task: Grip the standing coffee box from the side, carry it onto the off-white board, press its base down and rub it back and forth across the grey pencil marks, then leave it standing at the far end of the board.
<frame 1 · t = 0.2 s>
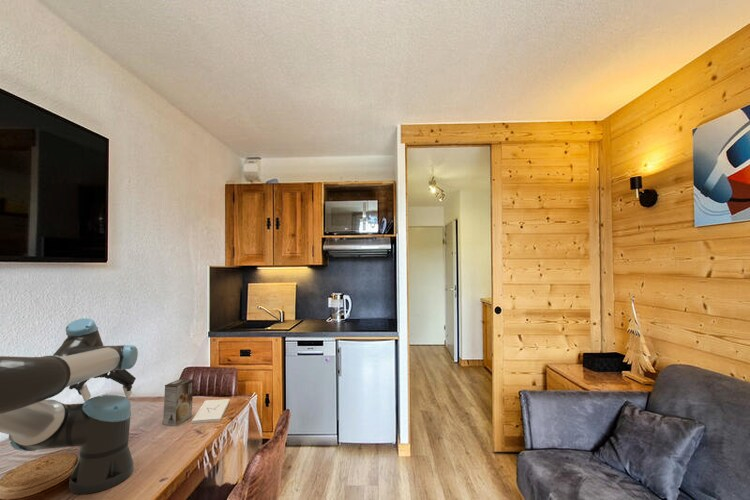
hand: (108, 397, 126), 15 cm above the table, tool tilted 35°, fingers open, 13 cm apart
coffee box: (177, 421, 140), on the table
marked board: (212, 411, 150), on the table
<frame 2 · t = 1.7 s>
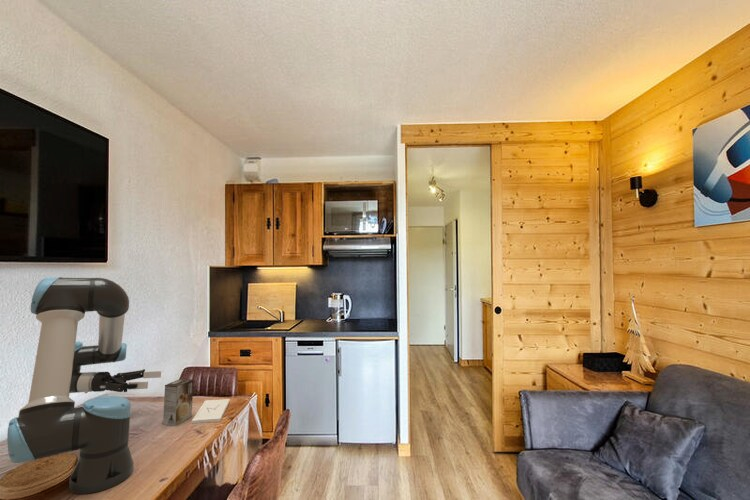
hand: (154, 379, 139), 18 cm above the table, tool horizontal, fingers open, 13 cm apart
nothing on the table moved.
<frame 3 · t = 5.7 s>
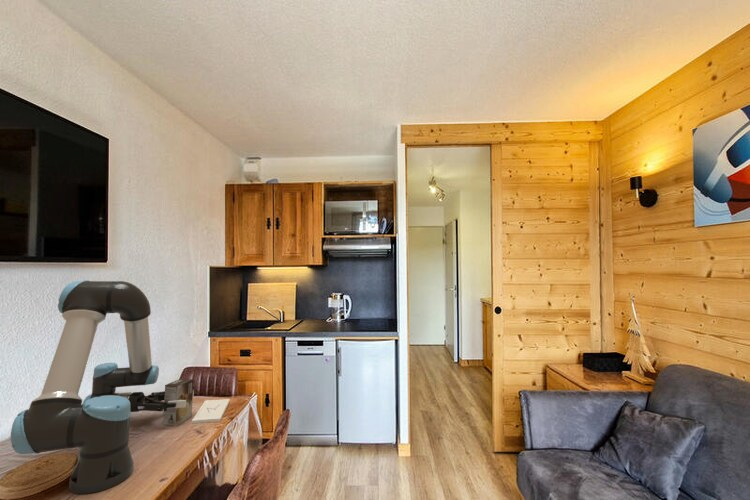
hand: (189, 398, 142), 9 cm above the table, tool horizontal, fingers closed on coffee box, 10 cm apart
coffee box: (177, 421, 140), on the table, touching gripper
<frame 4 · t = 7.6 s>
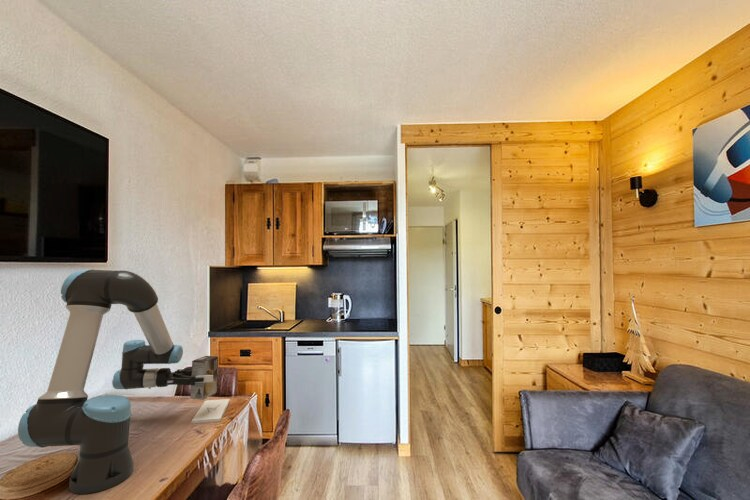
hand: (215, 374, 146), 18 cm above the table, tool horizontal, fingers closed on coffee box, 10 cm apart
coffee box: (203, 396, 145), point 9 cm above the table, touching gripper
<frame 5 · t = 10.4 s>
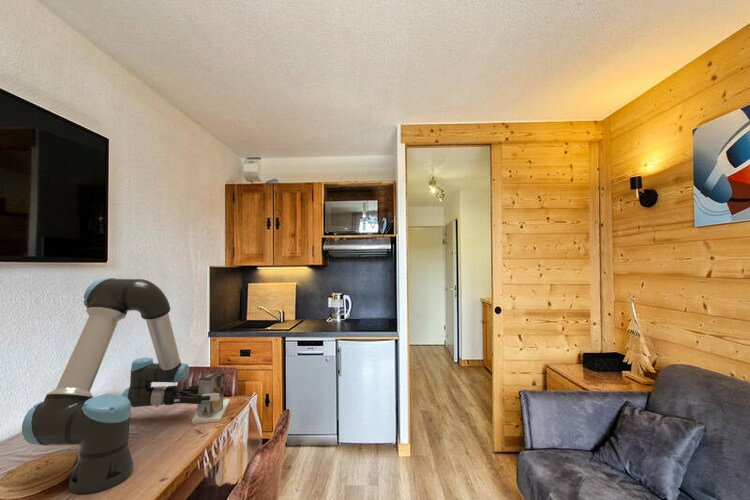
hand: (221, 392, 147), 10 cm above the table, tool horizontal, fingers closed on coffee box, 10 cm apart
coffee box: (210, 413, 145), point 1 cm above the table, touching gripper
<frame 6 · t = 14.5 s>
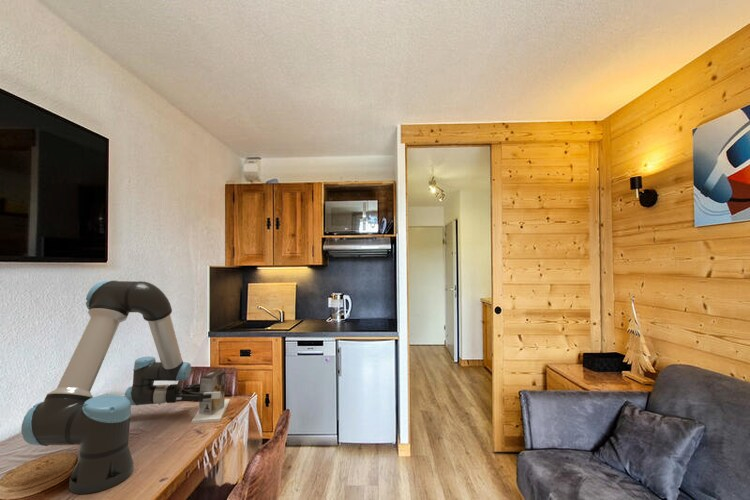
hand: (222, 390, 150), 10 cm above the table, tool horizontal, fingers closed on coffee box, 10 cm apart
coffee box: (211, 410, 148), point 1 cm above the table, touching gripper
when the fingers open (10 cm above the table, at t = 18.9 s): coffee box stays where it is, resting on marked board.
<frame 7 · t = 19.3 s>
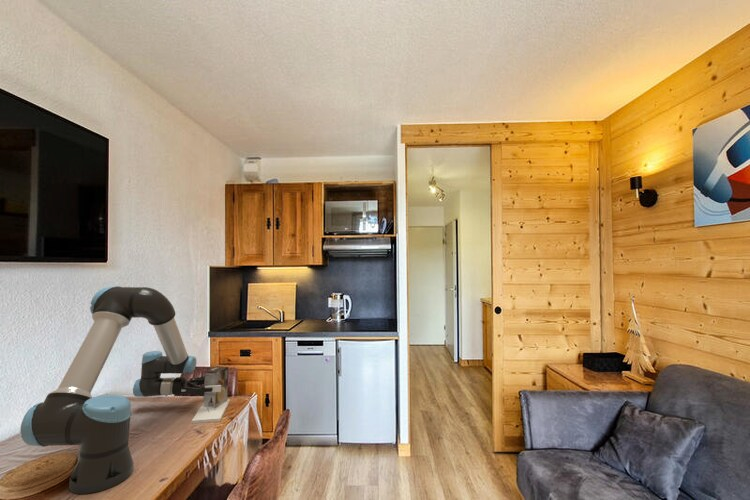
hand: (224, 383, 157), 10 cm above the table, tool horizontal, fingers open, 13 cm apart
coffee box: (215, 404, 155), point 1 cm above the table, touching marked board
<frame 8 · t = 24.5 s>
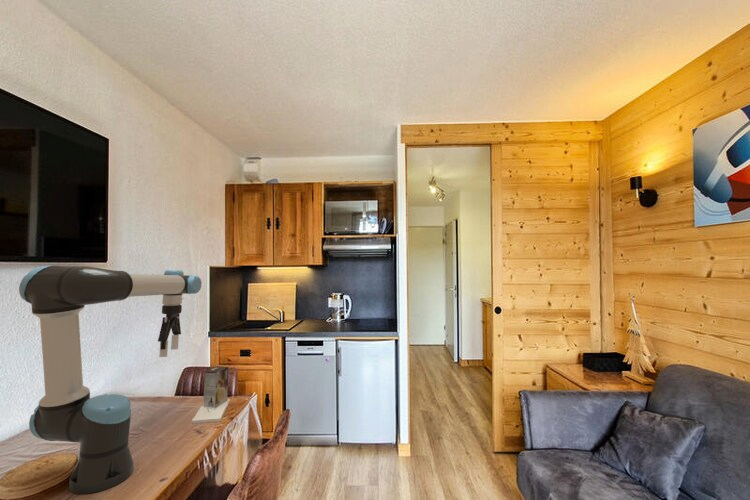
hand: (169, 352, 147), 27 cm above the table, tool pointing down, fingers open, 13 cm apart
nothing on the table moved.
at the end: coffee box inside the target area (0.1 cm from its centre), point 1.0 cm above the table; coffee box tilted 0°; the gripper is holding nothing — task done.
